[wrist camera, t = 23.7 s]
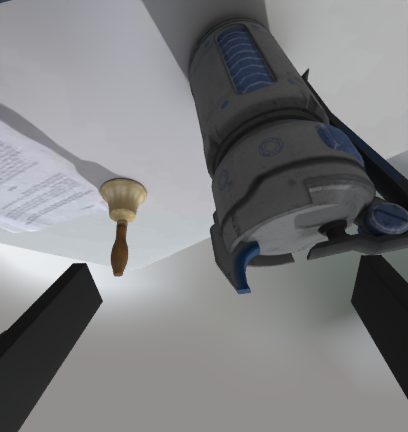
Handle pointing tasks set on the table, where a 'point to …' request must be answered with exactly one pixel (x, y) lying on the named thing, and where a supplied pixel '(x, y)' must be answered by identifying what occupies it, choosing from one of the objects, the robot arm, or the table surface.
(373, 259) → the robot arm
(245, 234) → the grey piece
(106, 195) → the hand bell
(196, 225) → the table surface
